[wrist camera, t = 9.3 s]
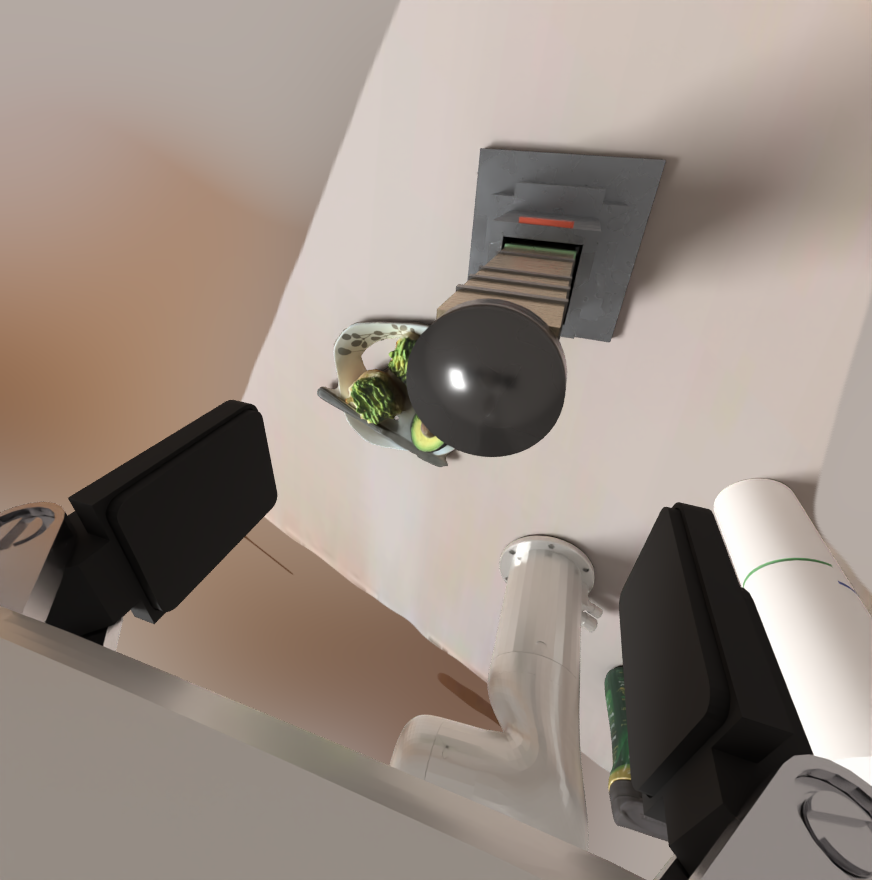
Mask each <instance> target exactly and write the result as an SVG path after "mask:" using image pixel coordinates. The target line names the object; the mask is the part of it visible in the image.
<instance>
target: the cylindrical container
mask: <svg viewBox="0 0 872 880" xmlns="http://www.w3.org/2000/svg"><path fill="white" fill-rule="evenodd" d="M714 512H715V515H716V518H717V520H718V523H719V526H720V529H721V532H722V534H723V537H724V540H725V543H726V545H727V548H728V551H729V554H730V556H731V559H732V562H733V565H734V567H735V570H736V573H737V576H738V578H739V581H740V584H741V587H743V588H745V589H746V590H747V591H748V592H749V593H750V595H751V597H752V598H753V600H754V603H755V605H756V608H757V610H758V613H759V615H760V618H761V621H762V623H763V626H764V628H765V631H766V633H767V636H768V639H769V641H770V644H771V646H772V649H773V651H774V654H775V657H776V659H777V662H778V664H779V667H780V669H781V672H782V675H783V677H784V680H785V682H786V685H787V687H788V690H789V692H790V695H791V698H792V700H793V703H794V705H795V708H796V710H797V713H798V716H799V718H800V721H801V723H802V726H803V728H804V731H805V734H806V736H807V739H808V741H809V744H810V746H811V749H812V752H813V754H814V756H818V757H822V758H826V759H829V760H831V761H833V762H835V763H837V764H839V765H841V766H843V767H845V768H847V769H849V770H851V771H852V772H853V773H855V774H856V775H857V776H859V777H860V778H861V779H863V780H864V781H865V782H867V783H868V784H870V785H871V786H872V617H871V615H870V613H869V612H868V610H867V609H866V607H865V605H864V604H863V602H862V601H861V599H860V598H859V596H858V594H857V593H856V591H855V589H854V588H853V586H852V585H851V583H850V582H849V580H848V578H847V577H846V575H845V574H844V572H843V571H842V569H841V567H840V566H839V564H838V563H837V561H836V559H835V558H834V556H833V555H832V553H831V552H830V550H829V548H828V547H827V545H826V544H825V542H824V540H823V539H822V537H821V536H820V534H819V532H818V531H817V529H816V528H815V526H814V524H813V523H812V521H811V520H810V518H809V516H808V515H807V513H806V512H805V510H804V508H803V507H802V505H801V504H800V502H799V500H798V499H797V497H796V496H795V494H794V493H793V491H792V490H791V489H790V488H789V487H787V486H786V485H784V484H782V483H781V482H778V481H775V480H770V479H761V478H755V479H747V480H743V481H739V482H736V483H734V484H731V485H730V486H728V487H726V488H725V489H724V490H722V491H721V492H720V494H719V495H718V496H717V498H716V500H715V502H714Z"/></svg>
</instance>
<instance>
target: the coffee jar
mask: <svg viewBox="0 0 872 880" xmlns="http://www.w3.org/2000/svg"><path fill="white" fill-rule="evenodd" d="M605 696H606V704H607V711H608V717H609V724H610V731H611V740H612V753H613V768H612V770H611V773H610V777H609V784H608V785H609V787H608V788H609V795H610V801H611V808H612V813H613V818H614V821H615V823H616V824H617V825H618V826H622V827H626V828H629V829H632V830H635V831H638V832H641V833H643V834H646V835H649V836H652V837H655V838H658V839H661V840H665V841H668V834H667V826H666V823H664V822H661V821H658V820H656V819H653V818H651V817H648V816H646V815H644V811H643V799H642V793H641V792H639V791H636V790H635V789H634V788H633V786H632V782H631V775H630V760H629V746H628V731H627V716H626V702H625V687H624V673H623V667H617V668H614V669H612V670H610V671H609V672H608V673H607V675H606V678H605Z"/></svg>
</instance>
